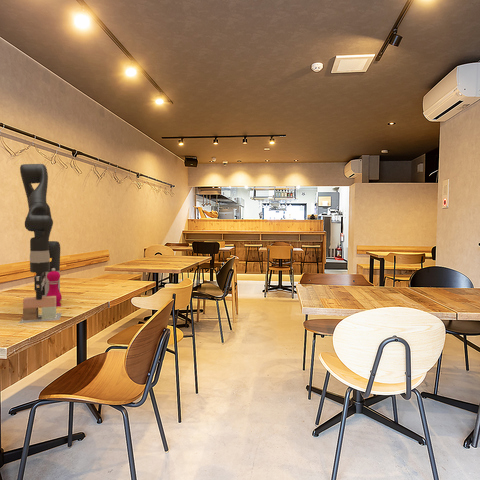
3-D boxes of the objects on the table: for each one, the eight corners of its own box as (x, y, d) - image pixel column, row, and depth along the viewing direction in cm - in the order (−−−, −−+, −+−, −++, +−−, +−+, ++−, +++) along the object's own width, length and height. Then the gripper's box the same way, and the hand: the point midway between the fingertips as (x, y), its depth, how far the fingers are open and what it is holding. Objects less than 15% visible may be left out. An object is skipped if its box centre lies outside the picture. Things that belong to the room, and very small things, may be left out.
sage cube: (43, 316, 151) (43, 305, 151) (56, 315, 153) (56, 304, 153) (41, 319, 147) (41, 307, 147) (54, 317, 149) (54, 306, 149)
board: (24, 318, 152) (24, 315, 152) (62, 315, 157) (62, 312, 157) (18, 326, 140) (18, 323, 140) (59, 322, 146) (59, 319, 146)
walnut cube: (25, 317, 149) (25, 306, 148) (38, 316, 151) (38, 305, 150) (23, 320, 144) (22, 309, 144) (36, 319, 146) (36, 308, 146)
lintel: (56, 304, 153) (56, 295, 152) (54, 306, 149) (54, 297, 149) (25, 306, 148) (25, 297, 148) (23, 308, 145) (23, 299, 144)
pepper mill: (50, 305, 177) (49, 267, 176) (64, 305, 178) (63, 267, 177) (43, 308, 170) (42, 269, 169) (58, 308, 170) (57, 269, 169)
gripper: (32, 259, 153) (33, 294, 154) (26, 263, 140) (27, 301, 141) (51, 258, 156) (52, 293, 157) (47, 262, 143) (48, 300, 144)
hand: (40, 297), depth 149 cm, fingers open, 8 cm apart
